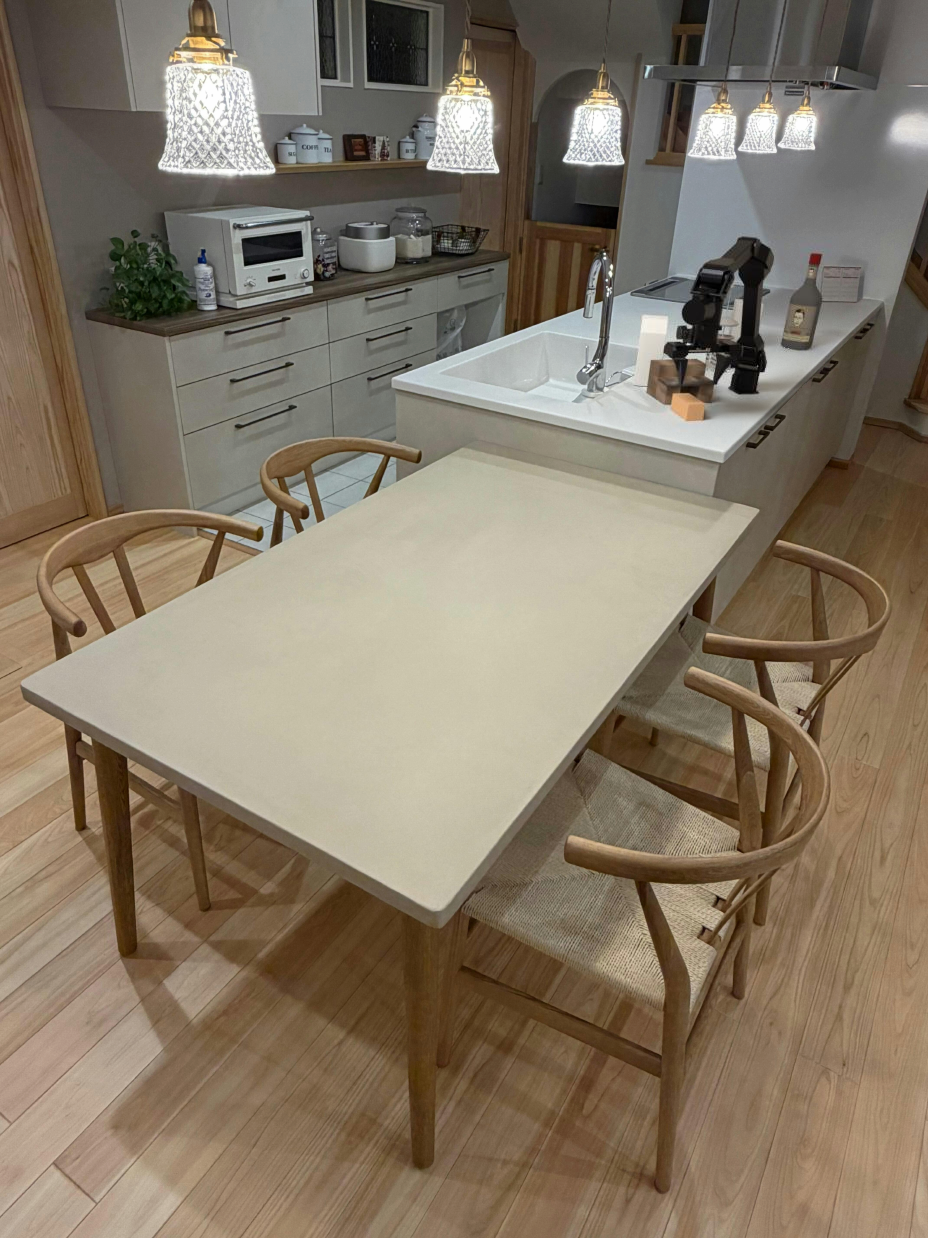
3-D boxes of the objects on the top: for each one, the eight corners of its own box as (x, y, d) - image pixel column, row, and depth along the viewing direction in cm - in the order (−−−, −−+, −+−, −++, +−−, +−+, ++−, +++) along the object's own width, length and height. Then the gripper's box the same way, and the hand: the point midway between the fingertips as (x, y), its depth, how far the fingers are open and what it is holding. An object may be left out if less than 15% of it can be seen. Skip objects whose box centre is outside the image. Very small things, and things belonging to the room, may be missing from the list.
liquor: (786, 342, 298) (806, 251, 283) (812, 346, 294) (834, 253, 279) (778, 347, 292) (798, 253, 277) (805, 351, 288) (826, 256, 272)
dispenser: (692, 390, 239) (698, 358, 235) (713, 403, 228) (719, 370, 224) (644, 392, 236) (649, 359, 232) (664, 405, 225) (669, 371, 221)
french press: (715, 373, 258) (731, 286, 245) (690, 364, 267) (704, 280, 254) (739, 370, 262) (756, 284, 249) (714, 361, 271) (728, 278, 258)
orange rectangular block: (686, 409, 223) (688, 392, 221) (702, 421, 215) (705, 403, 213) (670, 410, 223) (672, 393, 220) (686, 421, 214) (688, 404, 212)
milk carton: (658, 387, 241) (668, 318, 231) (633, 385, 242) (642, 316, 233) (658, 381, 247) (668, 313, 238) (634, 379, 248) (642, 312, 239)
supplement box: (755, 350, 286) (764, 304, 279) (728, 348, 288) (736, 302, 280) (752, 345, 294) (761, 299, 286) (726, 343, 295) (734, 298, 288)
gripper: (727, 312, 212) (716, 375, 220) (658, 313, 208) (649, 377, 216) (750, 321, 203) (737, 386, 210) (678, 322, 199) (668, 388, 207)
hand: (697, 384), depth 211 cm, fingers open, 9 cm apart
